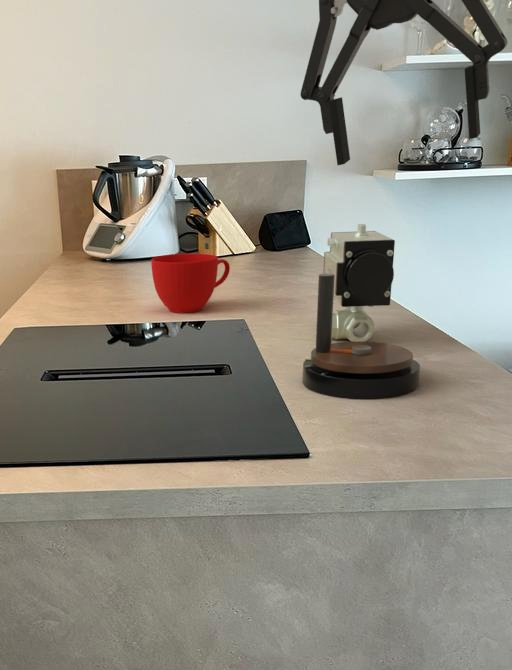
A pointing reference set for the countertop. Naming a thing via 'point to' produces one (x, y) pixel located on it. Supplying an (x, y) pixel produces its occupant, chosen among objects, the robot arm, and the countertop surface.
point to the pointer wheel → (351, 343)
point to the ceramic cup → (186, 280)
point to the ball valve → (359, 279)
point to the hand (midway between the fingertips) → (406, 150)
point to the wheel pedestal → (360, 382)
